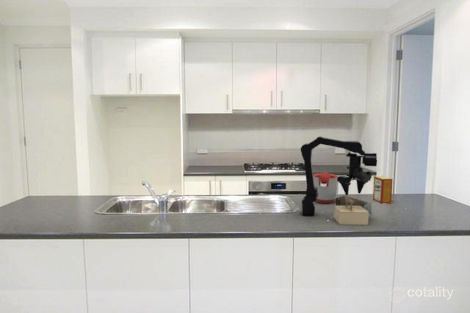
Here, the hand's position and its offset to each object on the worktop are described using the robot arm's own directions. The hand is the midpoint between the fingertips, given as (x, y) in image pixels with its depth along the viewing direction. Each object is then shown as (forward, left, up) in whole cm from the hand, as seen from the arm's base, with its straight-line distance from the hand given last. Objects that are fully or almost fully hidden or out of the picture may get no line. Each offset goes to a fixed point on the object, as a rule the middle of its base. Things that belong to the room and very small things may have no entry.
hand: (353, 194), depth 162 cm
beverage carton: (+6, +16, -14) cm, 22 cm away
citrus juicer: (-6, +34, -13) cm, 37 cm away
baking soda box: (+31, +35, -13) cm, 48 cm away
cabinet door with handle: (-6, -4, -7) cm, 10 cm away
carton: (-2, -4, -13) cm, 14 cm away
